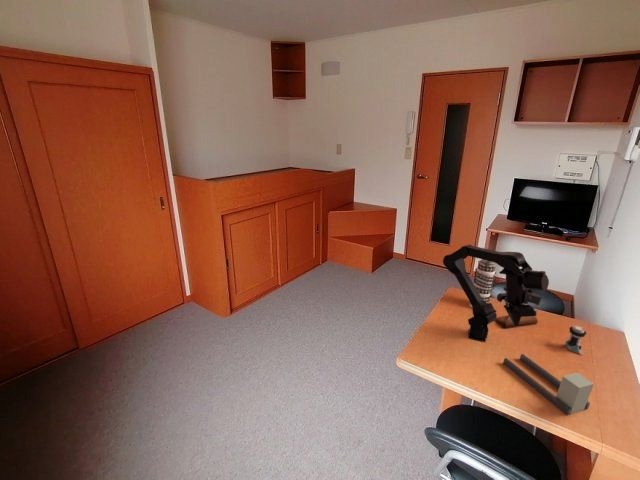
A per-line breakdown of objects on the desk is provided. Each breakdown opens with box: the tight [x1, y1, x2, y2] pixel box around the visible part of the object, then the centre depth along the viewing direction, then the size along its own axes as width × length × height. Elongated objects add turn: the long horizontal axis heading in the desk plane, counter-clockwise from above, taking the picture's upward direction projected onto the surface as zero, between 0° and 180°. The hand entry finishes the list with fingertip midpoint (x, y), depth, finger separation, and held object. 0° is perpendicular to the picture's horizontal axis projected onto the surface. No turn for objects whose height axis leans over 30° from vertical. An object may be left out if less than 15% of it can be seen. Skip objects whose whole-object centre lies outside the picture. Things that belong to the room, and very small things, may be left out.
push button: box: [564, 325, 587, 355], centre depth 128 cm, size 7×5×10 cm
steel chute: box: [502, 353, 591, 417], centre depth 110 cm, size 24×10×4 cm, turn 18°
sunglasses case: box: [494, 314, 539, 329], centre depth 148 cm, size 18×7×7 cm
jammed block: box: [555, 372, 594, 415], centre depth 100 cm, size 5×6×10 cm
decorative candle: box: [468, 259, 498, 309], centre depth 157 cm, size 9×9×25 cm
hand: (516, 325), depth 123 cm, fingers closed
